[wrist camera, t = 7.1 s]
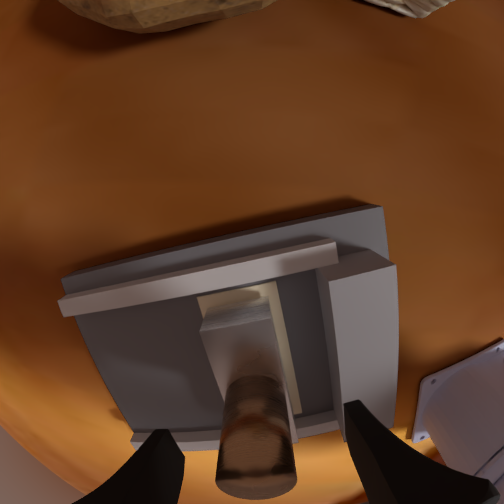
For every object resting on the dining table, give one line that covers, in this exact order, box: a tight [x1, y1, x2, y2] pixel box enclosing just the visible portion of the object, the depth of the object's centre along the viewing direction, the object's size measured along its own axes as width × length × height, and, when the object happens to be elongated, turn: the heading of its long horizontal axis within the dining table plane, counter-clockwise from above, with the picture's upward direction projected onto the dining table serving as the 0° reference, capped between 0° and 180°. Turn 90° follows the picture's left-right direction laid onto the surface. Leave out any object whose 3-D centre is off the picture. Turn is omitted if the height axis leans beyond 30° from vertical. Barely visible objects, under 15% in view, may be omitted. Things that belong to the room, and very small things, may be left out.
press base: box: [57, 204, 399, 451], centre depth 15 cm, size 18×14×4 cm
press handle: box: [199, 296, 298, 500], centre depth 12 cm, size 3×8×8 cm, turn 13°
